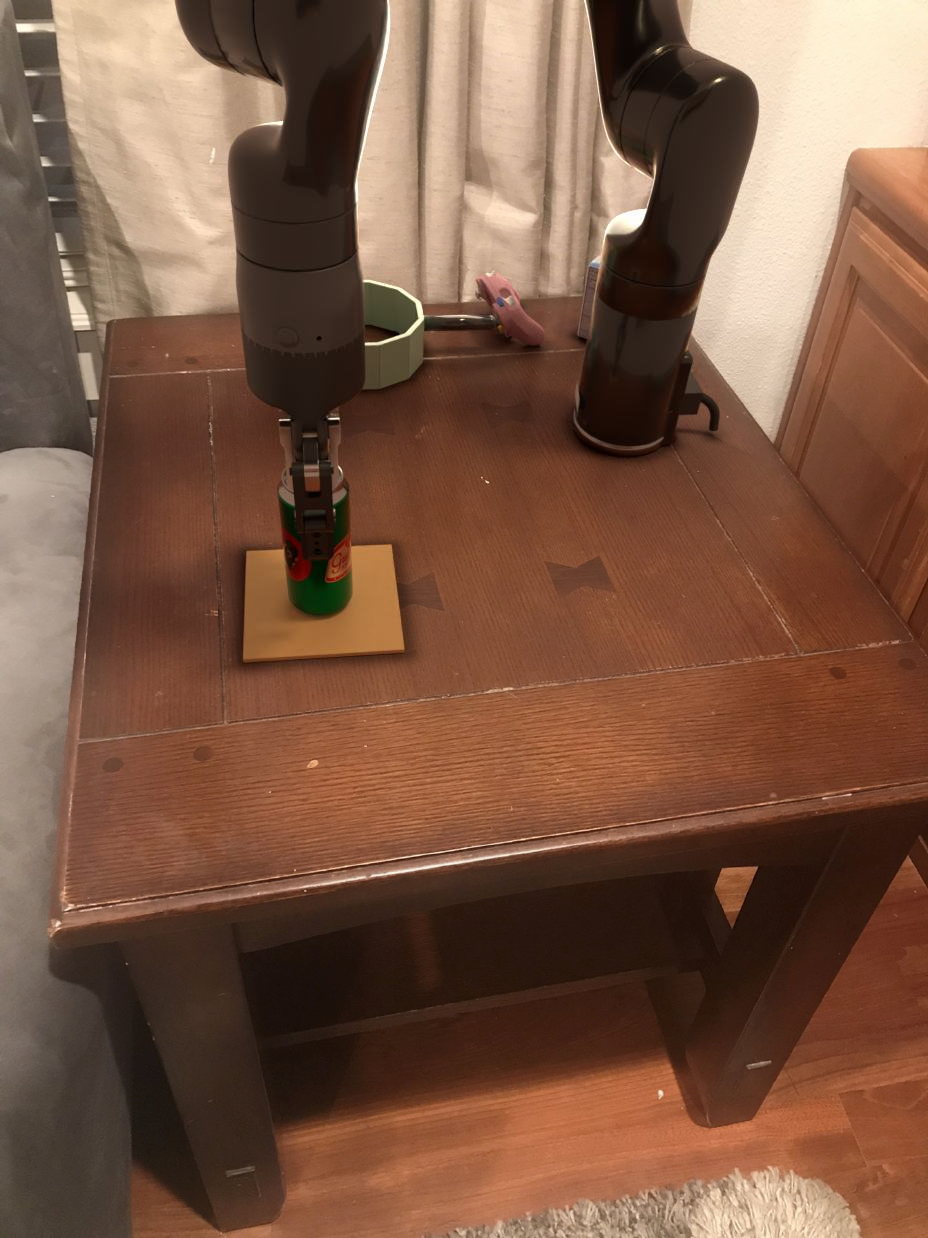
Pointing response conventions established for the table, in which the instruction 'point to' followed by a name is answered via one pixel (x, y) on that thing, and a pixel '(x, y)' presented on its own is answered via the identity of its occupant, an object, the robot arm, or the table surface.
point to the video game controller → (508, 309)
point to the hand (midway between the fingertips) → (316, 525)
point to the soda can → (324, 580)
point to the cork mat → (346, 632)
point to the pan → (404, 332)
